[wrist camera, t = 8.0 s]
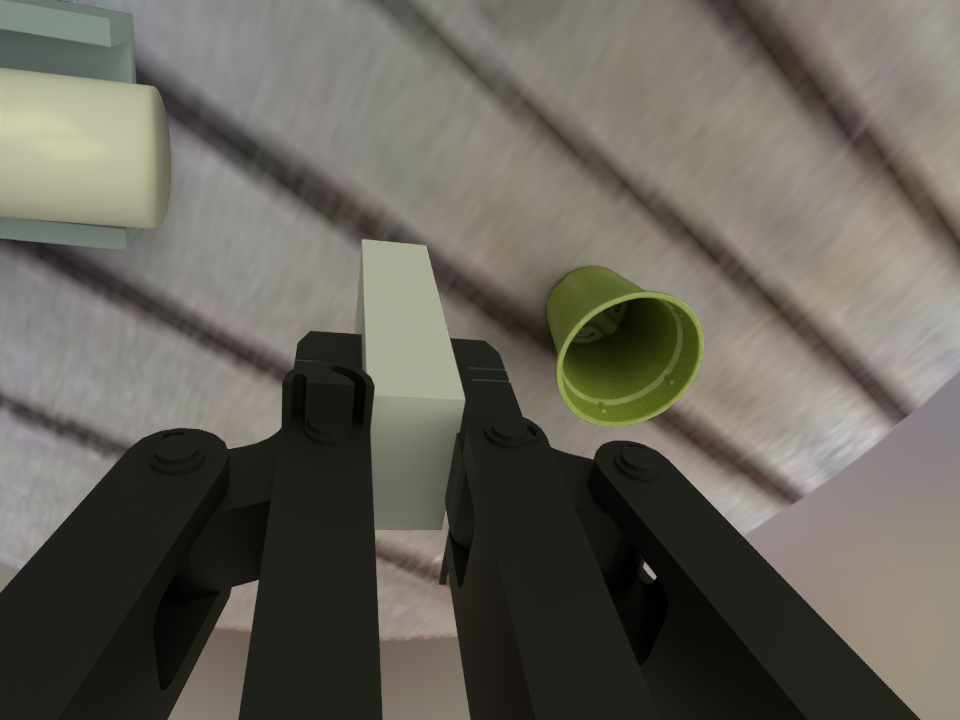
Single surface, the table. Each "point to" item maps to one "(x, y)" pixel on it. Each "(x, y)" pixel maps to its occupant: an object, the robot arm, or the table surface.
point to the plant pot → (621, 347)
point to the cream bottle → (82, 150)
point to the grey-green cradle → (72, 52)
